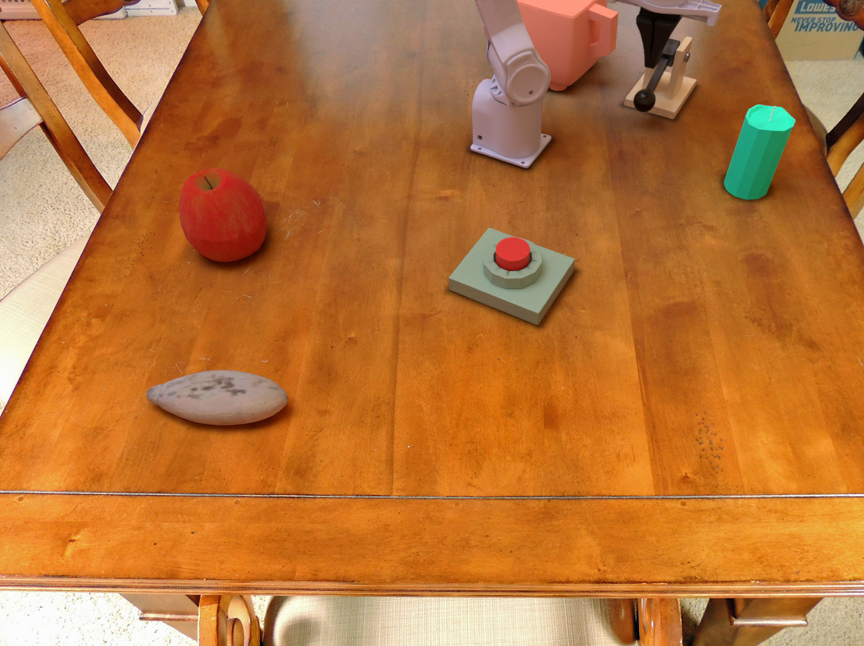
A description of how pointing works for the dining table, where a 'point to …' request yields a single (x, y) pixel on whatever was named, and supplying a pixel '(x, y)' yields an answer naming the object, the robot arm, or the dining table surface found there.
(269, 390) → the decorative stone
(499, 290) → the button block
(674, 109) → the bracket
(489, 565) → the dining table surface
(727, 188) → the candle
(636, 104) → the lever
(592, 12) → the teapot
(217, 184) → the apple
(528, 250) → the button
